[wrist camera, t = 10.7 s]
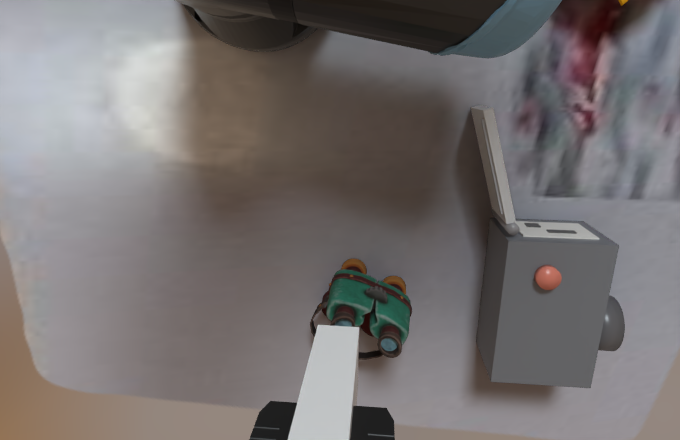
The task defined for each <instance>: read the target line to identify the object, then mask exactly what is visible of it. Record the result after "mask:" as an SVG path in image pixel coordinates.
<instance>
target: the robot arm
mask: <svg viewBox="0 0 680 440" xmlns="http://www.w3.org/2000/svg"><path fill="white" fill-rule="evenodd" d="M175 1H177V2H180V3H182V4H183V5H184V6H185V8H186V9H187V11H188V12H189V13H190V15H191V16H192V17H193V18H194V20H195V21H196V22H197V23H198V24H199V25H200V26H201V27H203V28H204V29H205V30H206V31H207V32H209V33H210V34H211V35H213V36H214V37H216V38H217V39H219V40H221V41H223V42H225V43H227V44H230V45H232V46H235V47H239V48H242V49H246V50H251V51H262V52H264V51H276V50H281V49H284V48H287V47H290V46H292V45H295V44H297V43H299V42H300V41H302V40H304V39H305V38H307V37H308V36H309V35H310V34H312V33H313V32H314V31H315V30H316V29H317V28H320V29H325V30H330V31H334V32H339V33H344V34H349V35H353V36H358V37H363V38H368V39H372V40H377V41H382V42H387V43H391V44H396V45H401V46H405V47H410V48H415V49H420V50H424V51H428V52H429V53H431V54H434V55H437V54H438V55H441V56H443V55H450V54H456V55H464V56H471V57H479V58H495V57H499V56H503V55H505V54H507V53H509V52H511V51H513V50H515V49H517V48H518V47H520V46H521V45H522V44H524V43H525V42H526V41H528V40H529V39H530V38H531V37H532V36H533V35H534V34H535V33H536V32H537V31H538V30H539V29H540V28H541V27H542V25H543V24H544V23H545V22H546V21H547V20H548V18H549V17H550V16H551V15H552V13H553V12H554V11H555V10H556V8H557V7H558V5H559V4H560V3H561V1H562V0H175ZM358 354H359V327H347V326H329V325H318V327H317V330H316V334H315V338H314V342H313V346H312V349H311V353H310V357H309V361H308V365H307V368H306V372H305V376H304V380H303V383H302V387H301V391H300V395H299V399H298V402H297V403H291V402H277V401H270V402H269V403H268V404H267V405H266V406H265V407H264V408H263V409H262V410H261V411H260V412H259V415H258V417H257V420H256V423H255V426H254V429H253V431H252V434H251V436H250V440H395V438H394V420H393V418H392V417H391V415H390V413H389V412H388V410H387V408H379V407H364V406H356V404H357V390H358Z"/></svg>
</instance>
